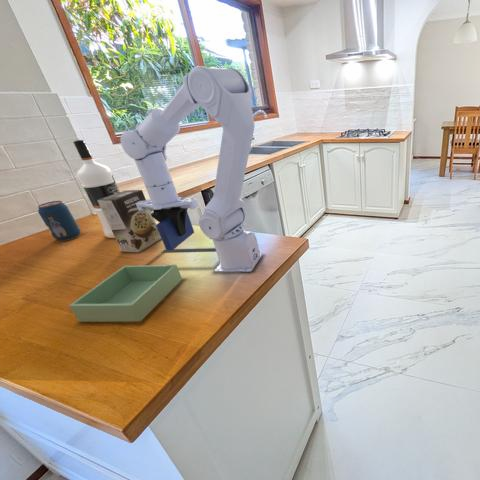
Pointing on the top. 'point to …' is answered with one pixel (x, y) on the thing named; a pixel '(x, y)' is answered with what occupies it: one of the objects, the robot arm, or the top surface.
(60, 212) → the soda can
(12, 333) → the top surface
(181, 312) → the top surface
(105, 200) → the coffee box
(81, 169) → the vodka
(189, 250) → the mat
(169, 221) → the blue flat block
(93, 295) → the bin
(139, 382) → the top surface
